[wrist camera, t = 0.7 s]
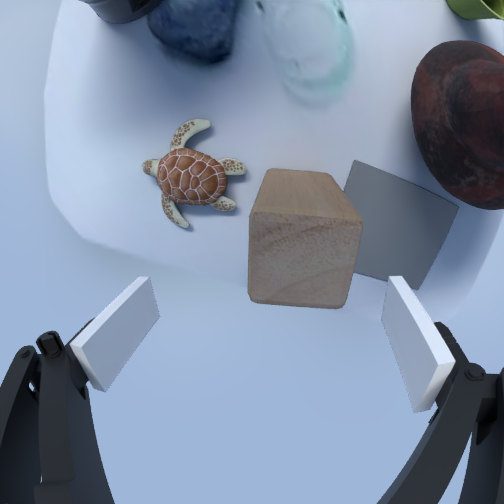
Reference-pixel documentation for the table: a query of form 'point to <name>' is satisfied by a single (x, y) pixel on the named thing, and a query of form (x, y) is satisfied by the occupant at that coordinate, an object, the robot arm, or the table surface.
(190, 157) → the decorative turtle
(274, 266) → the wooden block
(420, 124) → the jug
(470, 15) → the plant pot
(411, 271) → the mat
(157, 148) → the table surface
